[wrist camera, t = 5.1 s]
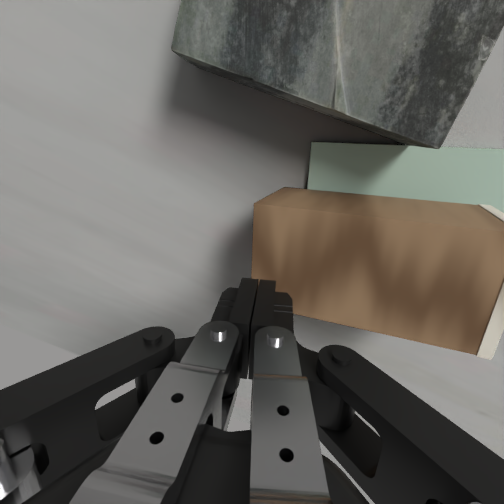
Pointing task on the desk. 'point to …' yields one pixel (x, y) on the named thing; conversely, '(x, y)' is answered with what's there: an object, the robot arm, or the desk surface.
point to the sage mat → (409, 172)
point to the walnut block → (387, 264)
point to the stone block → (350, 56)
